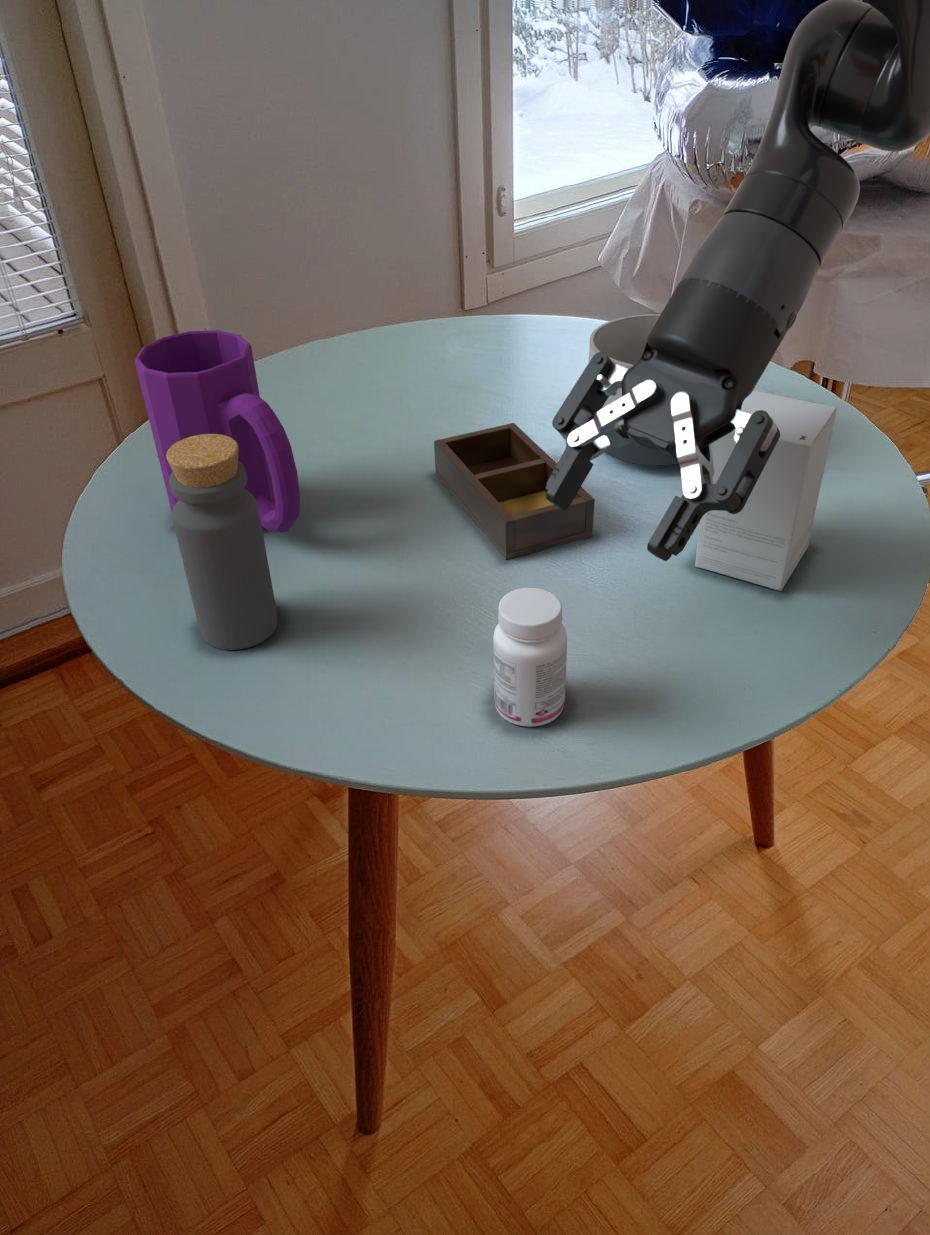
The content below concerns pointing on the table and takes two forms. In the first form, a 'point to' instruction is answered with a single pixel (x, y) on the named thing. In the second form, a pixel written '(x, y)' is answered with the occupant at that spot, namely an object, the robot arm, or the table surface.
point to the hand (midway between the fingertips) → (603, 529)
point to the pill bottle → (530, 657)
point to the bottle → (221, 542)
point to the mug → (219, 414)
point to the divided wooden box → (510, 490)
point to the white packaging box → (770, 497)
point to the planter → (626, 349)
